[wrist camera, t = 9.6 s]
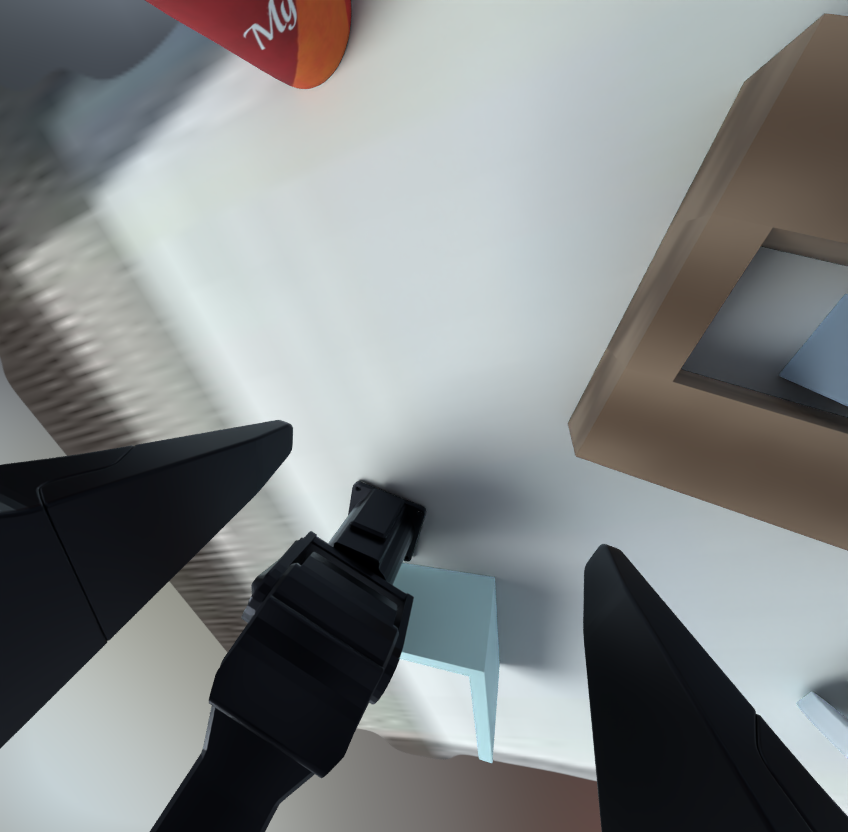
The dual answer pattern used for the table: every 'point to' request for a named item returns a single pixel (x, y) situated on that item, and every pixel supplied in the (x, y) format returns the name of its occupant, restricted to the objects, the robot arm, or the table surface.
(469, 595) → the right angle wall
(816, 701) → the spread jar
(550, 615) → the table surface
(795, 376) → the solid blue gray block
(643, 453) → the well block
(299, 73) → the paper cup
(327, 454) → the table surface
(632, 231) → the table surface
